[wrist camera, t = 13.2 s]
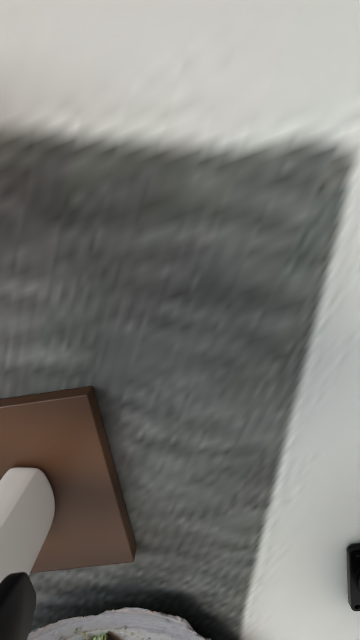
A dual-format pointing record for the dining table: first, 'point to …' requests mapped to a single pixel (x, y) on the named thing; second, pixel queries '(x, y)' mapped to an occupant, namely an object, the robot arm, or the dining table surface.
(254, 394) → the dining table surface
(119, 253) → the dining table surface
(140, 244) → the dining table surface
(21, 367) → the dining table surface
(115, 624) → the food plate
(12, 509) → the eye dropper bottle
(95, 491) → the walnut board
